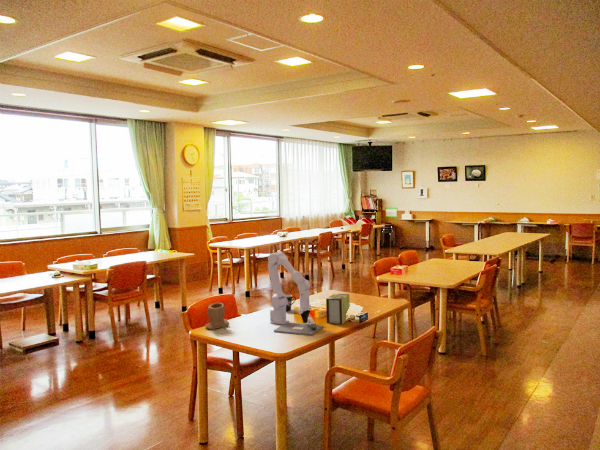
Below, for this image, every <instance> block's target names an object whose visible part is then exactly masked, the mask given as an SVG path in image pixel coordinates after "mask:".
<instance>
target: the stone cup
mask: <svg viewBox="0 0 600 450" xmlns="http://www.w3.org/2000/svg"><path fill="white" fill-rule="evenodd" d="M225 311H226V307H225V304H224V303H223V302H214V303H211V304H209V305H208V307H207V316H208V319H209V322H208V323H206V324H204V327H205V328H206V329H210V330H214V329H215V330H216V329H219V328H223V327H226V326H229V325H230V322H229V321H228V319H227V318H225V313H226V312H225Z"/></svg>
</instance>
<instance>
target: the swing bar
mask: <svg viewBox="0 0 600 450" xmlns="http://www.w3.org/2000/svg"><path fill="white" fill-rule="evenodd" d="M307 324H309V326H310V327H311V330H316V325H317V323H315V321H314V319H313V318H312V316H308V321H307Z"/></svg>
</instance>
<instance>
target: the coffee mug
mask: <svg viewBox="0 0 600 450" xmlns="http://www.w3.org/2000/svg"><path fill="white" fill-rule="evenodd" d="M285 296H286V298H287V300H288V304H287V305H286V312H291V310H292V305H293V304H294V303H295V302H296V300H297V298H296V296H293V295H292V294H285ZM293 298H294V301H293ZM292 301H293V302H292Z"/></svg>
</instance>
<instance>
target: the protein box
mask: <svg viewBox="0 0 600 450" xmlns="http://www.w3.org/2000/svg"><path fill="white" fill-rule="evenodd" d="M350 299H351V298H350V293H338V292H337V293H336V292H335V293H332V294H331V295H329V296H328V297H327V298H325V303H326V309H325V311H326V323H327V324H337V325H344V324H345V323H346V322H347V321H346V313H347V311H348V309H349V307H350V305H351V304H350ZM345 321H346V322H345Z"/></svg>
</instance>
